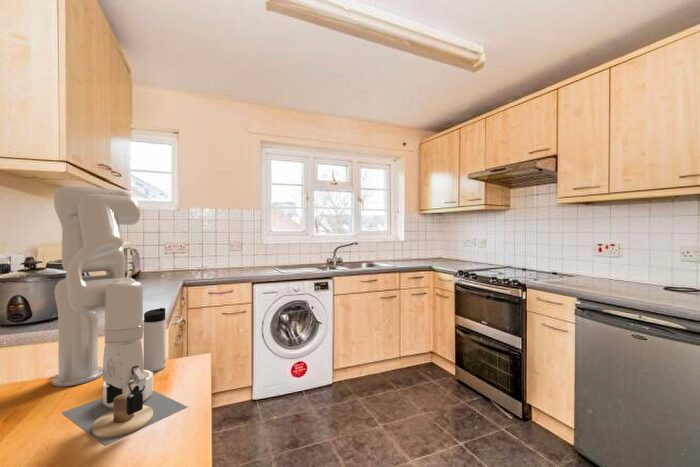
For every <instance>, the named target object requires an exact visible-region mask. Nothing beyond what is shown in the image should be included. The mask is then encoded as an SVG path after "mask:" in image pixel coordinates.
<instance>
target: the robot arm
mask: <svg viewBox="0 0 700 467" xmlns="http://www.w3.org/2000/svg"><path fill="white" fill-rule="evenodd" d="M53 208H54V209H55V212H56V213H55V214H56V215H57V217H58V219H59V222H60V226H61V230H62V232H61V266H62V268H63V269H64V270H65V271H66V276H65V278H64V279H62V280H60V281H59V282H57V283H56V285H55V287H54V299H55V303H56V304H55V305H56V308H57V309H56V310H57V315H58V316H57V317H58V318H57V319H58V320H57V321H58V351H57V352H58V358H57V359H58V360H57V361H58V374H56V375H55V376H53V377H52V379H51V382H50V383H51V385H52V386H54V387H72V386H77V385H82V384H86V383H89V382H92V381H93V380H96V379H98V378H99V377H101V376H102V380H103V382H106V386H108V387H107V403H108V404H110V403H112V402H114V398H115V397H117V396H119V395H121V394H122V388H124V387H126V390H127V393H128V395H129V397H127V414H128V415H131V414H133V413H135V412H138V411H140V410H142V409H143V393H144V388H145V382H146V378H145V376H144V375H143V370H144V350H143V345H142V339H144V310H143V308H144V289H143V287H144V286H143V284H142V283H141V282H140V281H137V280H136V279H134V278H131V277H126V276H125V274H126V273H125V272H126V271H125V270H126V268H125V267H126V256H125V255H126V254H125V249H124V248H123V245H124V244H123V243H124V239H123V236H122V230H121V225H123V226H124V225H125V226H129V225H130V226H132V225H136V224H137V223H138V222H139V220H140V218H141V208H140V204H139V202H138V200H137V199H136V198H135V197H133V195H131V194H129V193H127V191H123V190H119V189H111V188H100V187H92V186H91V187H89V186H77V185H76V186H75V185H73V186H72V185H69V186H62V187H58V188H57V189H56V190H55V192H54V194H53ZM94 272H95V273H97V272H105V273H106V274H99V275H83V274H84V273H94ZM98 311H99V312H100V311H104V349H103V356H102V357H103V359H102V361H103V362H102V366H98V365H99V364H98V359H99V358H98V357H99V356H98V355H99V354H98V351H99V349H98V348H99V347H98V346H99V345H98V344H99V342H98V340H99V339H98V338H99V336H98V335H99V333H98V330H99V327H98V326H99V325H98V323H99V322H98V317H97V316H96V315H95V313H93V312H98ZM132 380H134V381H133V382H130V383H129V381H132ZM133 385H137V386H135V387H134V389H133V390H132V388H131V386H133Z"/></svg>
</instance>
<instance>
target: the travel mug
mask: <svg viewBox="0 0 700 467" xmlns="http://www.w3.org/2000/svg"><path fill="white" fill-rule="evenodd" d="M166 323H167V322H166V307H164V308H163V307H160V308H156V309H150V310H147V311H146V312H143V370H149V371H151V372H153V373H156V372H160V371H163V370H164V369H165V368H166V330H167V328H166Z"/></svg>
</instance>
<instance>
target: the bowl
mask: <svg viewBox="0 0 700 467" xmlns="http://www.w3.org/2000/svg"><path fill="white" fill-rule="evenodd" d="M143 375H144V376H145V378H146V382H145V388H144V393H143V402H144V401H145V400H147V399H148V398H149V397H150V396H151V395H152V392H153V390H154V372H151V371H149V370H144V369H143ZM133 381H134V380H132V381H129V383H130V382H133ZM135 386H137V385H133V386H131V388H132V390H133V389H134V387H135ZM102 387H103V388H102V398H103V404H105V405H106V406H107V407H108V408H113V409H114V402H112V403H110V404H108V403H107V387H108V386H106V382H105V381H103V384H102ZM126 393H127V390H126V387H124V388H122V394H126Z"/></svg>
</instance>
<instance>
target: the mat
mask: <svg viewBox="0 0 700 467" xmlns="http://www.w3.org/2000/svg"><path fill="white" fill-rule="evenodd" d="M143 405H144V406H148V407H151V408H152V409H153V418H152V420H151V421H150V422H149V423H148V424H147V425H145V426H144V427H142V428H141V429H139V430H137V431H134V432H132V433H129V434H126V435H123V436H118V437H113V438H100V437H96V436H94V435H93V434H92V425H93V423H94V422H95V421H96V420H97V419H98V418H99V417H101V416H103V415H104V414H106V413H108V412H111V411H113V410H114V409H113V408H108V407H107V406H106V405H105V404H103V397H100V398H98V399H96V400H93V401H90V402H87V403H84V404H82V405H78V406H75V407H73V408H70V409H67V410H65V411H62V412H61V414H62V415H63V416H65V417H66V418H67V419H69V420H70V421H72V422H73V423H74V424H75V425H77V426H78V427H79V428H80V429H82V430H83V431H85V432H86V433H87V434H89V435H90V436H91V437H92V438H93V439H95V440H96V441H98V443H101V444H102V446H104V447H106V446H108V445H111V444H112V443H115V442H117V441H119V440H121V439H123V438H125V437H127V436H129V435H130V436H131V435H132V434H134V433H135V432H138V431H140V430H142V429H144V428H147V427H149V426H151V425H153V424H155V423H157V422H159V421H161V420H163V419H165V418H168V417H169V416H172V415H174V414H176V413H178V412H181V411H182V410H185V409H186V408H187V409H188V406H186V405H184V404H183V403H181V402H178V401H177V400H174V399H172V398H170V397H168V396H166V395H164V394H162V393H160V392H157V391H156V390H154V389H153V392H152V395H151V396H150V397H149V398H148V399H147V400H145V401H144V402H143Z"/></svg>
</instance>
